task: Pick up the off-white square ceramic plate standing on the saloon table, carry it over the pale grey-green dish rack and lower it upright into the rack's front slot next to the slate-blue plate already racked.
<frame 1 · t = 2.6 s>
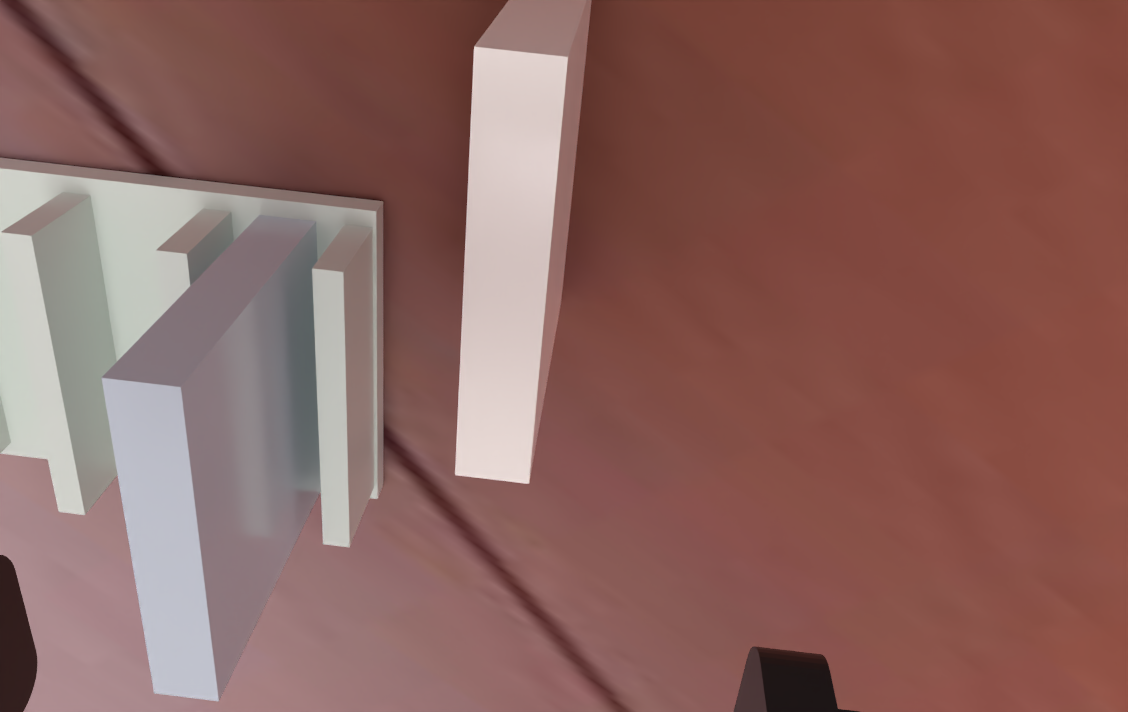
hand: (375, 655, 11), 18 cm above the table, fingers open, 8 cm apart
rack: (175, 330, 30), on the table
plate: (547, 149, 26), on the table
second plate: (295, 357, 29), point 1 cm above the table, touching rack
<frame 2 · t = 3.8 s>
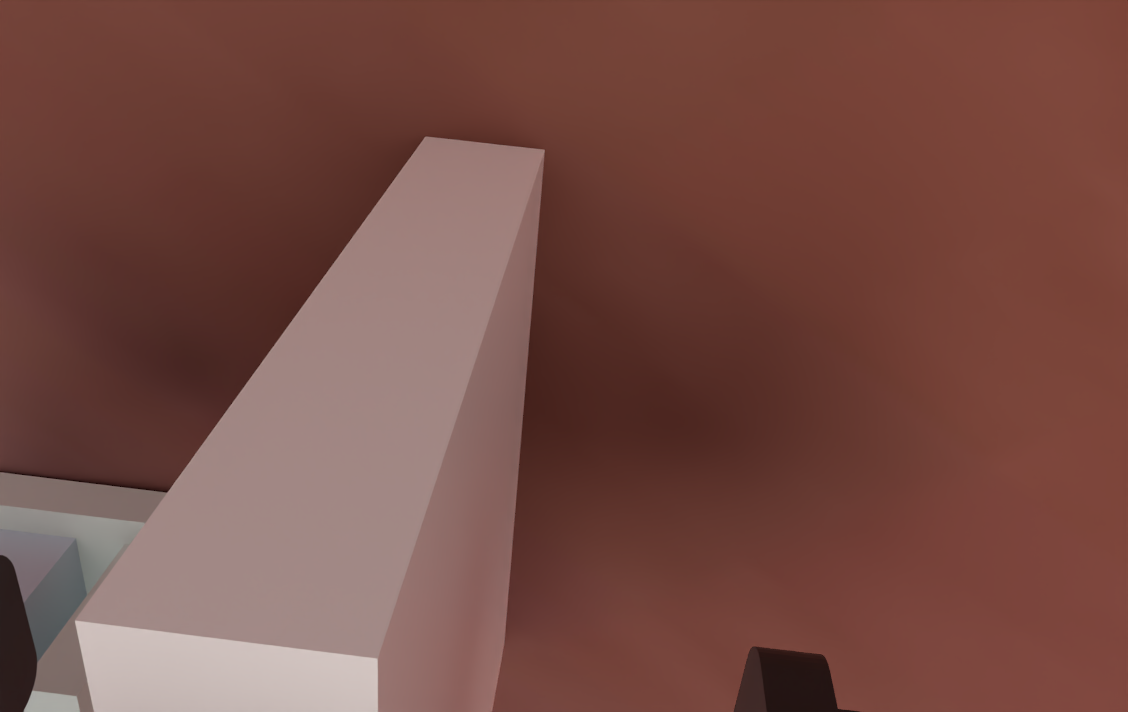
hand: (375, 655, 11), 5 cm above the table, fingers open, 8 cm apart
plate: (470, 425, 15), on the table
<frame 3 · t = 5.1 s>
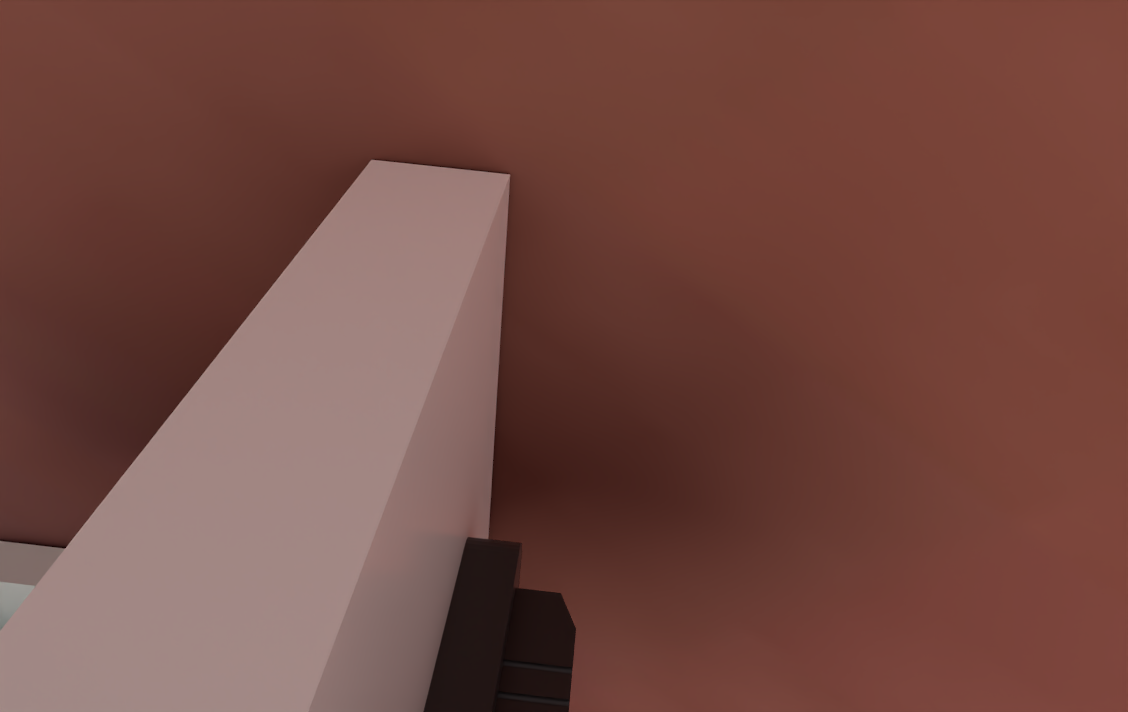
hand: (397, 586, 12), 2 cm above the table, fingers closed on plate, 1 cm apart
plate: (433, 482, 13), on the table, touching gripper
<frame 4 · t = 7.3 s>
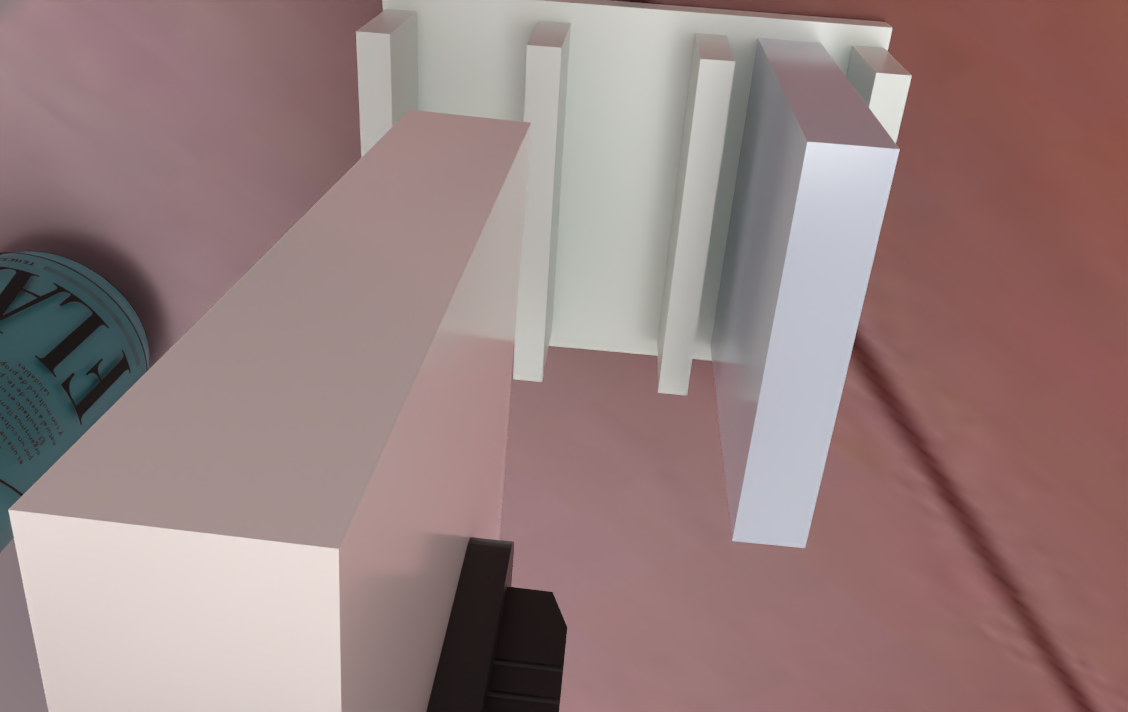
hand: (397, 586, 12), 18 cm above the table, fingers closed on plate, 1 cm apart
rack: (618, 185, 28), on the table
plate: (456, 413, 15), point 14 cm above the table, touching gripper
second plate: (761, 206, 27), point 1 cm above the table, touching rack
beverage bottle: (81, 314, 32), on the table
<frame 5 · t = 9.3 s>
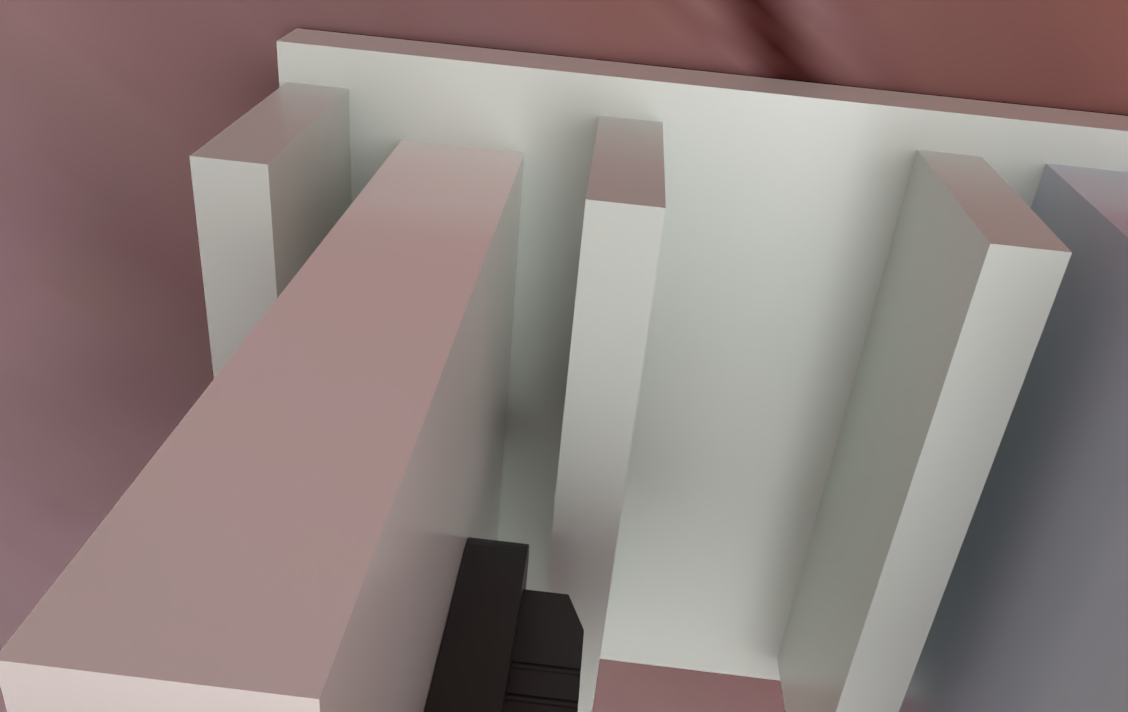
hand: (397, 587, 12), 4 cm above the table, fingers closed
rack: (725, 402, 15), on the table
plate: (452, 435, 15), point 1 cm above the table, touching rack
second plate: (999, 462, 14), point 1 cm above the table, touching rack
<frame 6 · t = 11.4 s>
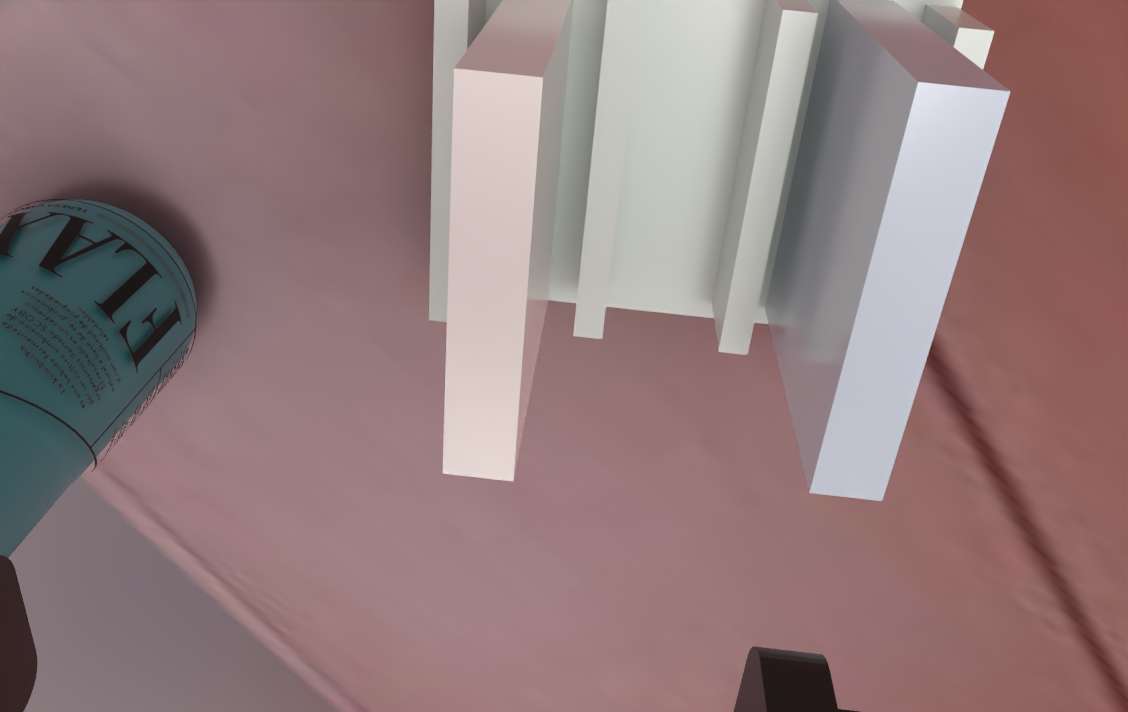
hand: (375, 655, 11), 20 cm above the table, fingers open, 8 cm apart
rack: (679, 143, 28), on the table
plate: (531, 157, 27), point 1 cm above the table, touching rack
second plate: (824, 167, 27), point 1 cm above the table, touching rack
beverage bottle: (124, 268, 31), on the table
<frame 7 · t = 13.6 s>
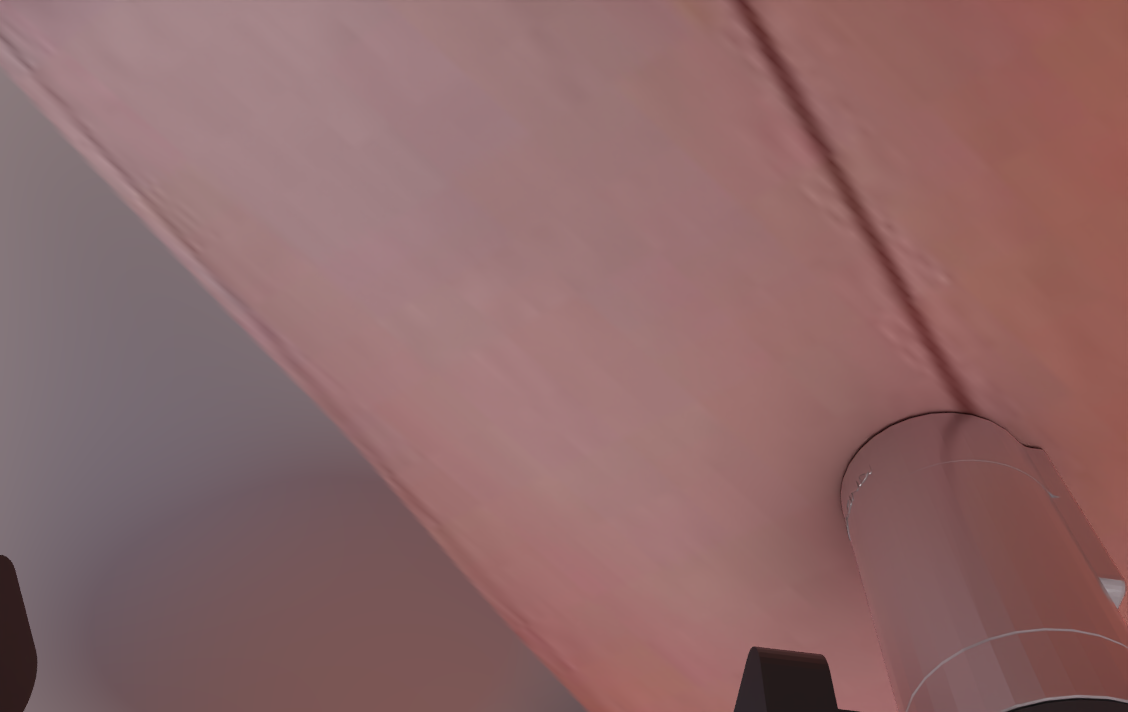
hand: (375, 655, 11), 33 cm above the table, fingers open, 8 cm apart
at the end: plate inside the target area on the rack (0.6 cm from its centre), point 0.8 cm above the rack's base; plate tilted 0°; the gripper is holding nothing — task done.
